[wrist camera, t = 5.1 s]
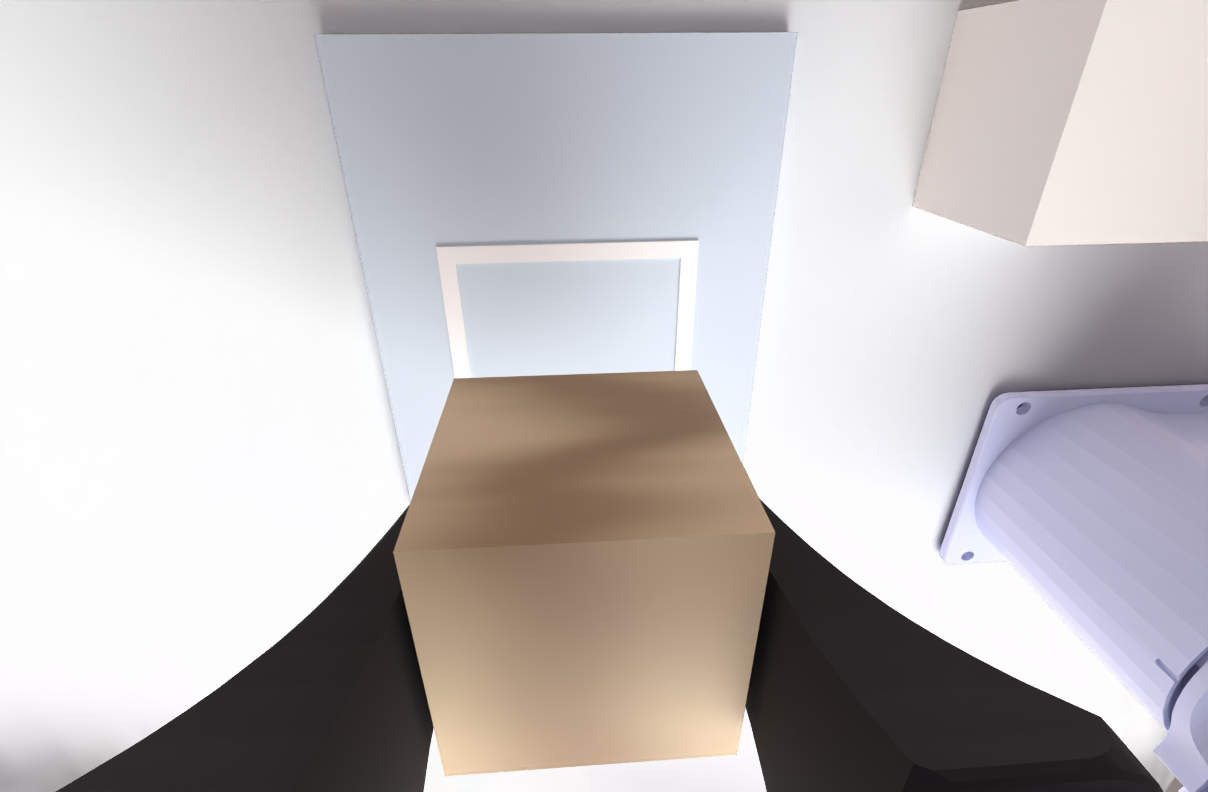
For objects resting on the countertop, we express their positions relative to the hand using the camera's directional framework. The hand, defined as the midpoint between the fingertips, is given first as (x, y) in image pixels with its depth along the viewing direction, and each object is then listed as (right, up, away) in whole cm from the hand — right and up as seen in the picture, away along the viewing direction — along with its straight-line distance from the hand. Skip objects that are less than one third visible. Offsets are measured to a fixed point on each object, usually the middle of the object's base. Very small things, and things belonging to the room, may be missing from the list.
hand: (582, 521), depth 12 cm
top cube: (+12, +11, +5) cm, 17 cm away
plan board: (-1, +5, +7) cm, 9 cm away
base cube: (0, +1, +1) cm, 2 cm away
